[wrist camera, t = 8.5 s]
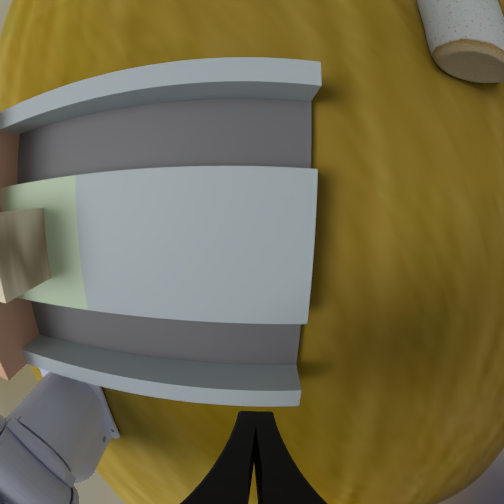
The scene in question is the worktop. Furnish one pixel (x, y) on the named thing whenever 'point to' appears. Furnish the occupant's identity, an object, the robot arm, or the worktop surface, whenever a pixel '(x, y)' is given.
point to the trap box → (168, 229)
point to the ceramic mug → (466, 37)
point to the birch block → (22, 252)
